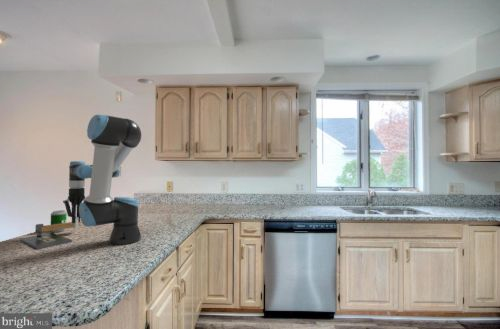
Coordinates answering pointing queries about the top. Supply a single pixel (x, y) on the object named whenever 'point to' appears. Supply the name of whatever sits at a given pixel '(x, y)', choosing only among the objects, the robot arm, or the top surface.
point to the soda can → (58, 219)
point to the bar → (54, 227)
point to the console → (45, 240)
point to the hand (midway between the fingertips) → (75, 228)
